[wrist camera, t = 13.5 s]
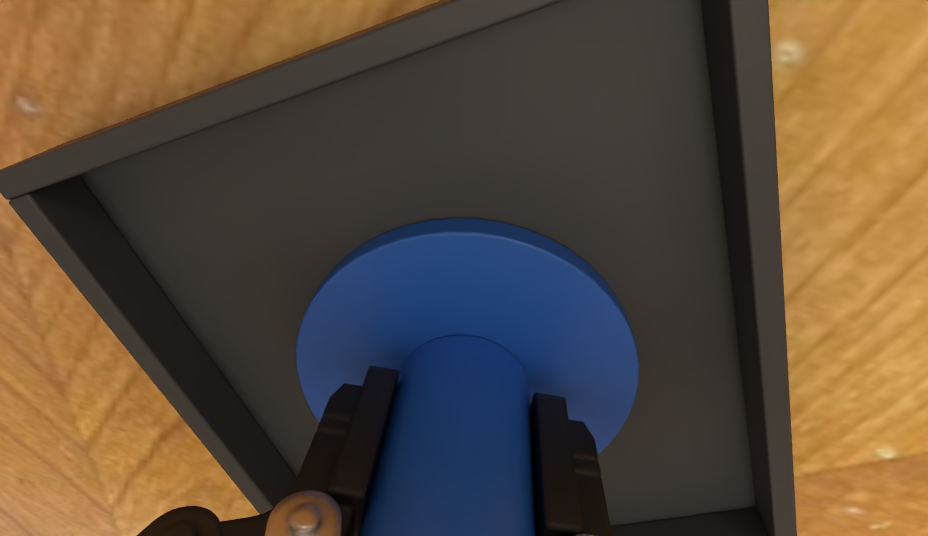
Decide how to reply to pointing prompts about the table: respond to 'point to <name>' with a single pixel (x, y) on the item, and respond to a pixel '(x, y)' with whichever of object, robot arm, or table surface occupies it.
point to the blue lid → (467, 365)
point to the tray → (468, 197)
